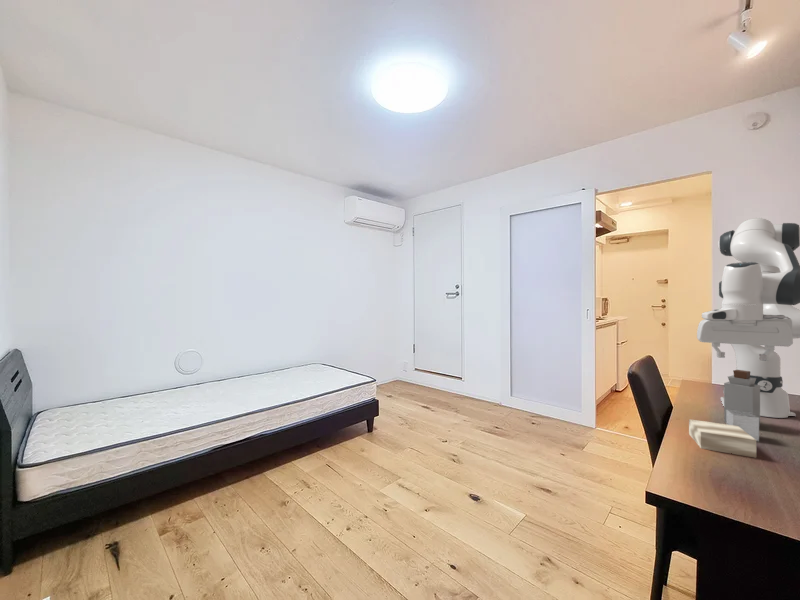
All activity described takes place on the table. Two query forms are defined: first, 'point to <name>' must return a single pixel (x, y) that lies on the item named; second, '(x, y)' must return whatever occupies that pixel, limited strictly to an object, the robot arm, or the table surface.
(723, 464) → the table surface
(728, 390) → the perfume bottle
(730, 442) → the cream square dish
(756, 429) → the grey block
